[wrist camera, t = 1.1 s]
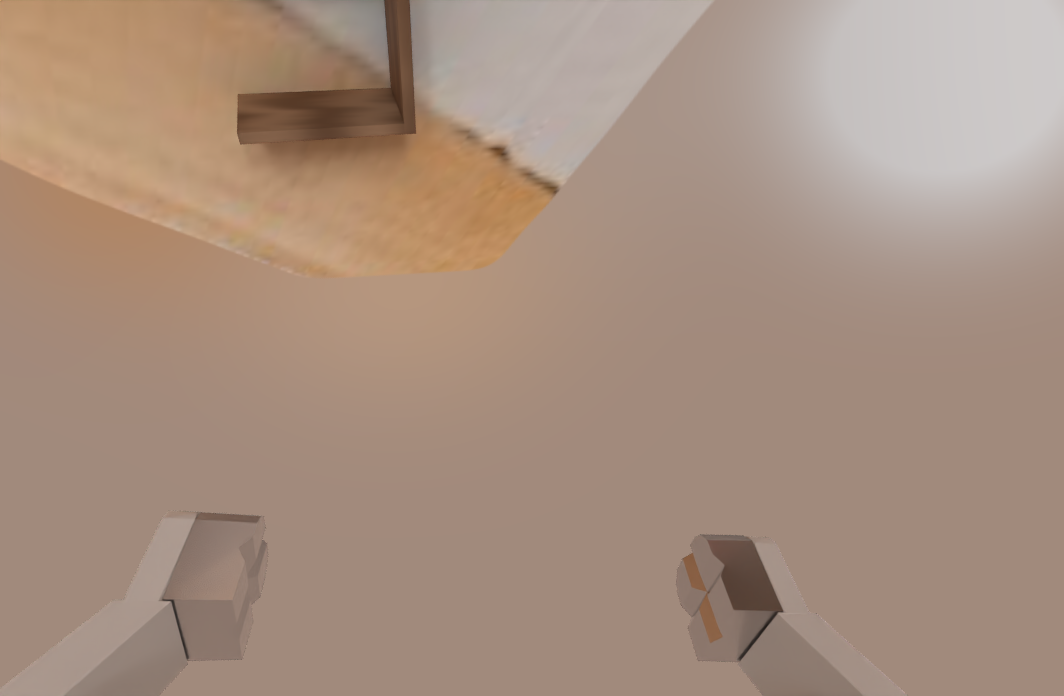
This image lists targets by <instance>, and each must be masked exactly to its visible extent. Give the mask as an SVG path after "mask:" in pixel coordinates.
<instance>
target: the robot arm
mask: <svg viewBox="0 0 1064 696" xmlns="http://www.w3.org/2000/svg"><path fill="white" fill-rule="evenodd" d="M265 528H266V527H265V520H264V516H254V515H239V514H222V513H205V512H191V511H190V512H189V511H168V512H167V513H166V514H165V516H164V517H163V518H162V519H161V521H160V523H159V525H158V527H157V529H156V531H155V534H154V535H153V538H152V540H151V542H150V544H149V547H148V548H147V550H146V553H145V554H144V557H143V559H142V561H141V563H140V565H139V567H138V570H137V572H136V573H135V576H134V578H133V580H132V582H131V584H130V586H129V588H128V590H127V593H126V595H125V597H124V599H123V600H112V601H111V602H110V603H108V604H107V605H106V606H105V607H103V608H102V609H101V610H100V611H98V612H97V613H96V614H94V615H93V616H92V617H91V618H89V619H88V620H87V621H86V622H84V623H83V624H82V625H80V626H79V627H78V628H77V629H76V630H74V631H73V632H71V633H70V634H69V635H68V636H67V637H65V638H64V639H63V640H61V641H60V642H59V643H58V644H56V645H55V646H54V647H52V648H51V649H50V650H49V651H47V652H46V653H45V654H44V655H42V656H41V657H40V658H38V659H37V660H36V661H35V662H33V663H32V664H31V665H29V666H28V667H27V668H26V669H24V670H23V671H22V672H21V673H19V674H18V675H17V676H16V677H14V678H13V679H12V680H11V681H9V682H8V683H7V684H5V685H4V686H3V687H2V688H0V696H159V695H160V694H161V693H162V692H163V691H164V689H166V687H167V686H168V685H169V684H170V683H171V682H172V681H173V680H174V679H175V678H176V677H177V676H178V675H179V673H180V672H181V671H182V670H183V669H184V668H185V667H186V666H187V665H188V662H187V661H199V660H201V661H202V660H242V659H243V656H244V652H245V649H246V645H247V642H248V638H249V635H250V631H251V628H252V624H253V615H252V606H251V605H252V604H253V603H254V602H255V601H256V600H257V599H259V598H260V596H261V592H262V589H263V585H264V580H265V575H266V569H267V562H268V547H267V543H266V542H265V541H264V540H262V539H263V535H264V532H265ZM690 546H691V549H692V552H693V553H691V554H689V555H688V556H686V557H684V558H683V559H682V561H681V563H680V565H679V567H678V570H677V579H676V585H677V593H678V597H679V600H680V604H681V606H682V607H683V608H684V609H685V610H686V611H687V612H688V613H689V615H691V620H690V623H689V625H688V630H689V633H690V637H691V639H692V643H693V646H694V649H695V653H696V656H697V659H698V661H717V662H718V661H719V662H720V661H721V662H739V663H738V665H739V667H740V668H741V669H742V670H743V672H744V673H745V674H746V675H747V677H748V678H749V679H750V680H751V682H752V683H753V684H754V685H755V686H756V688H757V689H758V690H759V691H760V693H761V694H762V695H763V696H908V695H907V694H906V693H905V692H903V691H902V690H901V689H900V688H899V687H898V686H897V685H896V684H894V683H893V682H892V681H891V680H889V678H888V677H887V676H886V675H884V674H883V673H882V672H881V671H880V670H879V669H878V668H877V667H875V666H874V665H873V664H872V663H871V662H870V661H869V660H868V659H867V658H865V657H864V656H863V655H862V654H861V653H860V652H859V651H858V650H857V649H855V648H854V647H853V646H852V645H851V644H850V643H849V642H848V641H846V640H845V639H844V638H843V637H842V636H841V635H840V634H839V633H837V631H835V630H834V629H833V628H832V627H831V626H830V625H829V624H828V623H826V622H825V621H824V620H823V619H822V618H821V617H820V616H819V615H817V613H809V611H808V609H807V606H806V605H805V602H804V600H803V598H802V596H801V594H800V592H799V590H798V588H797V586H796V584H795V582H794V580H793V578H792V576H791V573H790V571H789V569H788V567H787V565H786V563H785V561H784V559H783V557H782V555H781V553H780V551H779V549H778V546H777V544H776V543H775V542H774V541H773V540H772V539H771V538H768V537H745V536H738V535H701V534H700V535H698V536H696V537H695V538H694V540H693V541H692V543H691V545H690Z"/></svg>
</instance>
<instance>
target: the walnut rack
mask: <svg viewBox="0 0 1064 696" xmlns="http://www.w3.org/2000/svg"><path fill="white" fill-rule="evenodd" d="M384 1H385V15H386V28H387V42H388V55H389V68H390V82H391V88H381V89H357V90H333V91H309V92H285V93H261V94H238V117H237V134H238V138H239V142H240V144H256V143H272V142H288V141H304V140H320V139H336V138H352V137H368V136H384V135H400V134H416V127H415V106H414V86H413V65H412V44H411V24H410V3H409V0H384Z"/></svg>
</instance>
